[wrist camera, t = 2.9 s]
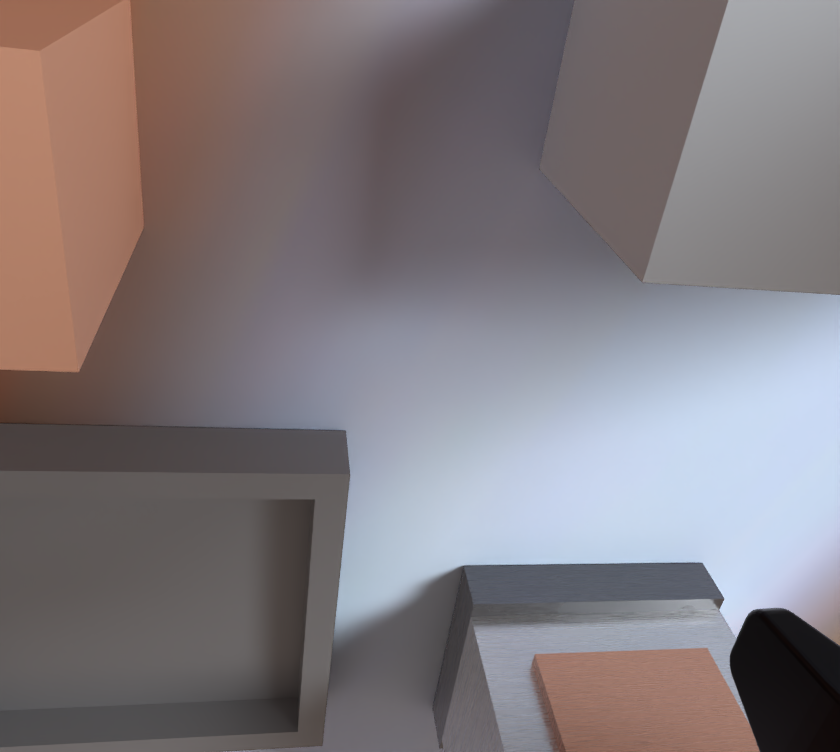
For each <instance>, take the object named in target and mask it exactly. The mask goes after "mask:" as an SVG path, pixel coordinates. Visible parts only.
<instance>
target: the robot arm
mask: <svg viewBox="0 0 840 752" xmlns="http://www.w3.org/2000/svg"><path fill="white" fill-rule="evenodd" d="M730 670H731V674H732V677H733V680H734V683H735V685H736V688H737V691H738V694H739V696H740V699H741V702H742V705H743V707H744V710H745V713H746V716H747V718H748V721H749V724H750V727H751V729H752V732H753V735H754V737H755V740H756V743H757V746H758V748H759V751H760V752H840V646H839V645H838V644H836V643H835V642H834V641H832V640H831V639H829V638H828V637H827V636H825V635H824V634H822V633H821V632H819V631H818V630H817V629H815V628H814V627H812V626H811V625H809V624H808V623H807V622H805V621H804V620H802V619H801V618H799V617H798V616H797V615H795V614H794V613H792V612H790V611H789V610H786V609H783V608H768V609H756V610H753V611H752V612H750V613H749V614H748V616H747V617H746V619H745V621H744V624H743V626H742V628H741V630H740V632H739V635H738V637H737V639H736V641H735V643H734V646H733V648H732V650H731V653H730Z"/></svg>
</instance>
